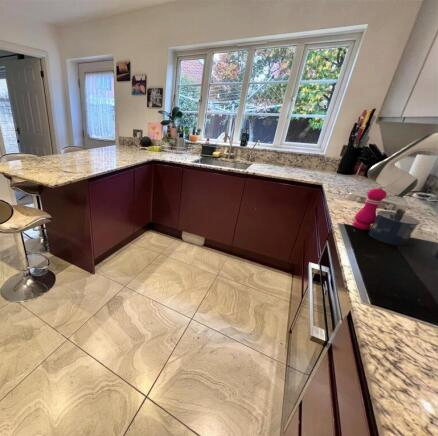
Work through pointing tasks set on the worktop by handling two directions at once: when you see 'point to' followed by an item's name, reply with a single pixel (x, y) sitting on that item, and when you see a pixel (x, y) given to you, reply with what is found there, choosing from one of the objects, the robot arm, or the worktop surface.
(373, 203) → the pepper mill
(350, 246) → the worktop surface
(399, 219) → the pot lid
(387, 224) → the pot
